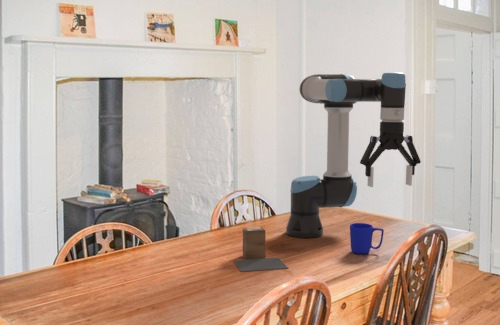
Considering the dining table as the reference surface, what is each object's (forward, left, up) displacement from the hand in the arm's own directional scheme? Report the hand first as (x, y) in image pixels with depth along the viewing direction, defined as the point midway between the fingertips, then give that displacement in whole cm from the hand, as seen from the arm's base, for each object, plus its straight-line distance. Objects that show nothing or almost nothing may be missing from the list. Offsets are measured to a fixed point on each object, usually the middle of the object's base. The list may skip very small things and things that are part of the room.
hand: (389, 185), depth 189 cm
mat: (-12, -41, -28) cm, 51 cm away
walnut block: (-21, -41, -28) cm, 54 cm away
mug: (-17, 0, -28) cm, 33 cm away
